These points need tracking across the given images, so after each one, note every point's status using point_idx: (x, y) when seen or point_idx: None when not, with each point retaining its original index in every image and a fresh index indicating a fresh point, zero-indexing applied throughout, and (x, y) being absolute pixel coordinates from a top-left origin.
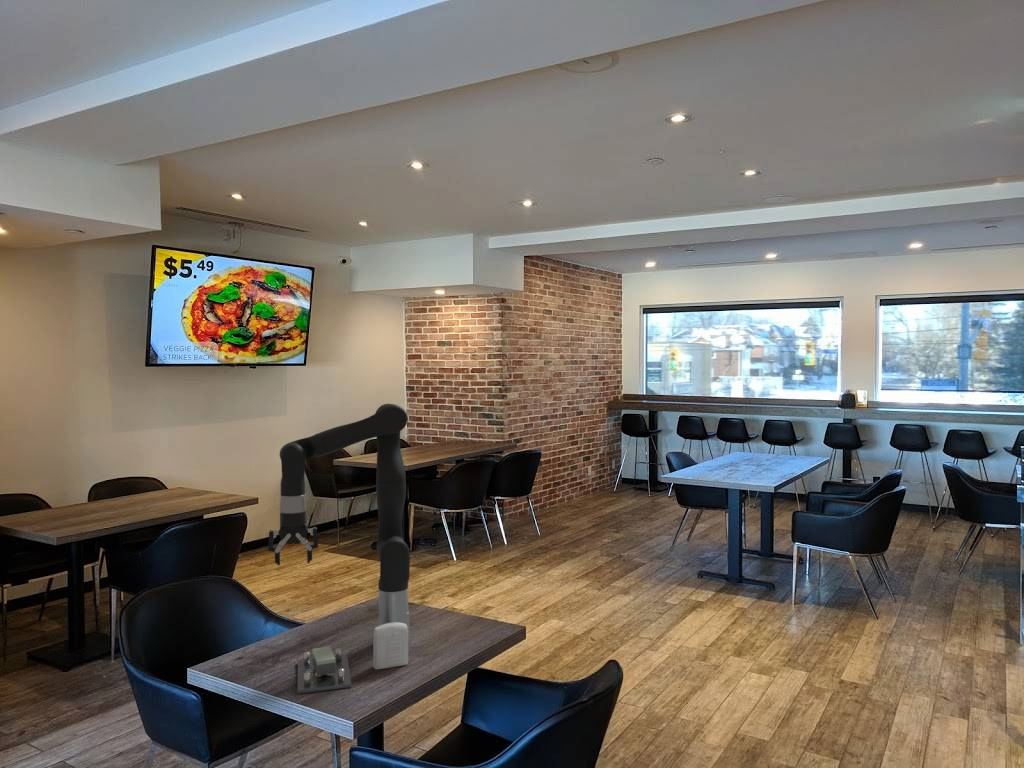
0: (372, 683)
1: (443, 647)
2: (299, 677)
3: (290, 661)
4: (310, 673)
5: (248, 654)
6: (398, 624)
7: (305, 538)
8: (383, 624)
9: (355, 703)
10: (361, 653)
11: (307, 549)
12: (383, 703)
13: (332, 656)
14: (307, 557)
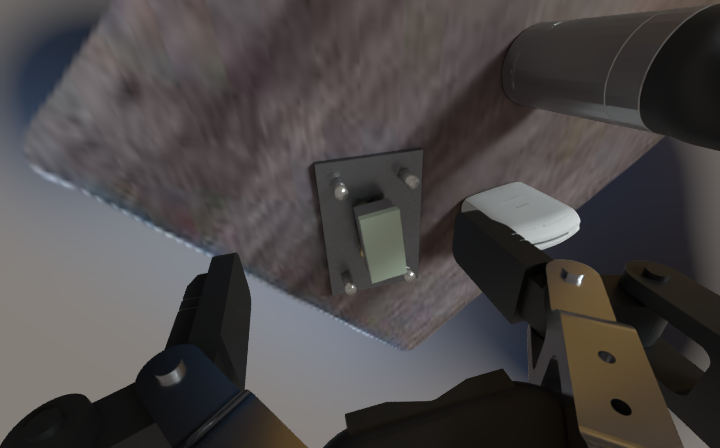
0: (447, 263)
1: (603, 124)
2: (329, 251)
3: (292, 145)
4: (349, 236)
5: (146, 64)
6: (564, 240)
7: (640, 372)
8: (537, 241)
9: (415, 317)
10: (452, 125)
11: (528, 267)
12: (449, 317)
13: (402, 262)
14: (477, 283)
